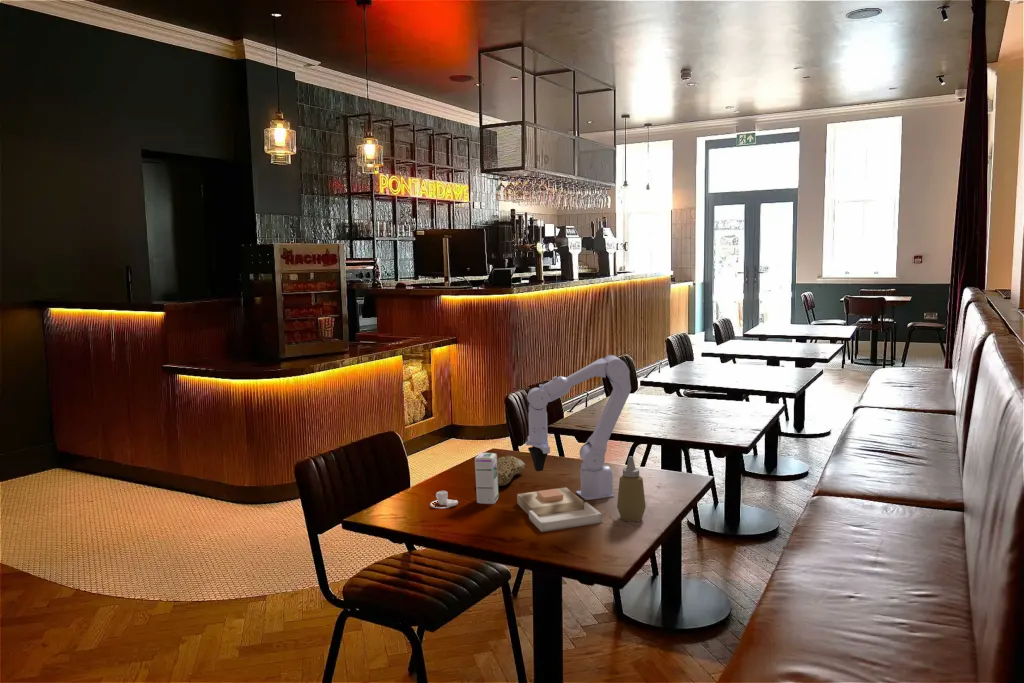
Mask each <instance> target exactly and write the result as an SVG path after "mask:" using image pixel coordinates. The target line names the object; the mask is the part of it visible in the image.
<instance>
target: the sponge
mask: <svg viewBox="0 0 1024 683" xmlns="http://www.w3.org/2000/svg"><path fill="white" fill-rule="evenodd" d="M525 467H526V464H525V462H524V461H523V460H522V459H520V458H518V457H515V456H514V455H506V456H501V457H497V473H498V487H502V486H506V485H508V484H509V483H510V482H511V481H512V480H513V479H514V477H515V475H518V474H521V473H522V472H523V470H524V469H525Z"/></svg>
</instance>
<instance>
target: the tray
mask: <svg viewBox="0 0 1024 683" xmlns="http://www.w3.org/2000/svg"><path fill="white" fill-rule="evenodd" d="M602 517H603V514H602V513H601V512H600V511H599V510H597V509H596V508H595V507H594V506H592V505H591V504H589V503H588V502H586V501H585V502H583V510H576V511H569V512H563V513H556V514H549V515H543V516H537V515H536V514H535V513H534V512H533V511H532V510H531V511H529V515H528V519H529V521H530V522H531V523H532V524H533V525H534V526H535V527H536V528H537V529H538V530H539V531H540V532H541V533H544V532H552V531H557V530H563V529H564V530H565V529H570V528H577V527H582V526H588V525H596V524H602V523H603V520H602V519H603V518H602Z"/></svg>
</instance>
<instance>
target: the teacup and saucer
mask: <svg viewBox="0 0 1024 683" xmlns="http://www.w3.org/2000/svg"><path fill="white" fill-rule="evenodd" d="M448 493H449V492H448V491H446V490H439V491H437V492H436V493H435V498H436V500H433V501H432V502H430V504H429V505H430V507H431V508H435V509H449V508H451V507H454V506H457V505H458V504H459V501H458V500H457V499H449V498H448ZM437 501H438V502H437ZM434 502H436V503H438V505H440V506H436V505H435V503H434ZM432 503H434V505H433V504H432ZM435 506H436V507H435ZM441 506H442V507H441ZM443 506H444V507H443Z"/></svg>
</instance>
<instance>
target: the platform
mask: <svg viewBox="0 0 1024 683" xmlns="http://www.w3.org/2000/svg"><path fill="white" fill-rule="evenodd" d="M556 489H557V490H558V491H559V492H560V493H562V494H563V500H558V501H551V502H543V501H542V500H541V499H540V498H539V497H538V496H537V491H538V490H537V491H531V492H522V493H517V495H516V497H517V498H516V499H517V500H516V501H517V505H518V506H519V507H520V508H521V509H522V510H523V511H524V512H525V513H526V514H527V515H528V516H529V511H531V510H532V511H533V512H534V513H535V514H536V515H537V516H543V515H549V514H556V513H563V512H569V511H576V510H583V509H584V500H583V498H580V497H579V496H578V494H575V493H574V492H572V490H570V489H569V488H568V487H566V486H565V487H559V488H556Z"/></svg>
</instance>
